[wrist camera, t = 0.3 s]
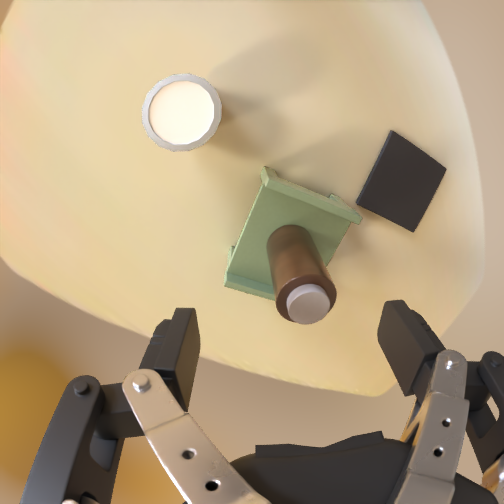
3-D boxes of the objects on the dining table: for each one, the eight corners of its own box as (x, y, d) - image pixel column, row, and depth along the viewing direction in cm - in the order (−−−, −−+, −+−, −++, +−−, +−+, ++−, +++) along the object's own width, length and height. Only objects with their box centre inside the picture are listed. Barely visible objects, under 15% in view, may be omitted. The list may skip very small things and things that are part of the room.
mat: (390, 130, 28) (392, 130, 28) (444, 167, 31) (446, 169, 30) (355, 202, 33) (357, 204, 32) (411, 230, 35) (413, 232, 34)
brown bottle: (277, 217, 28) (295, 274, 19) (320, 233, 29) (351, 292, 20) (259, 257, 30) (267, 324, 21) (300, 270, 31) (320, 336, 22)
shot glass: (239, 101, 27) (239, 100, 21) (202, 153, 29) (191, 167, 23) (185, 68, 25) (170, 59, 19) (150, 121, 27) (126, 127, 21)
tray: (263, 163, 30) (268, 178, 25) (341, 196, 32) (362, 218, 27) (225, 254, 36) (223, 286, 30) (298, 277, 38) (308, 310, 32)
